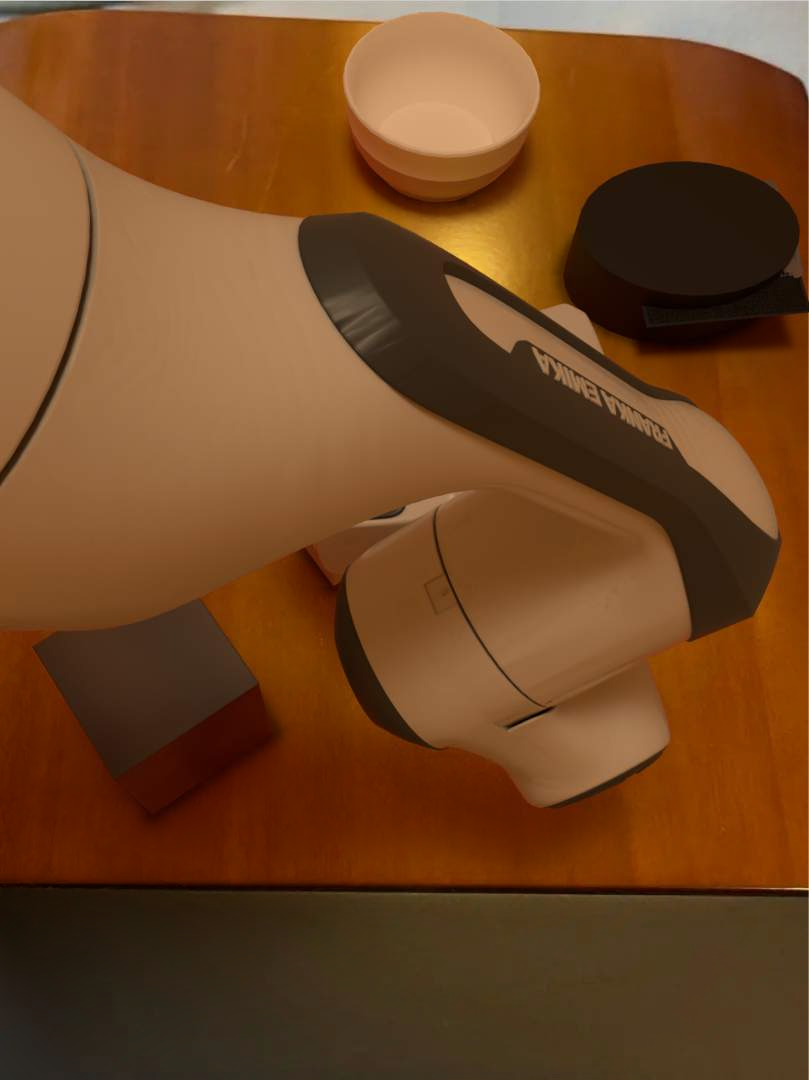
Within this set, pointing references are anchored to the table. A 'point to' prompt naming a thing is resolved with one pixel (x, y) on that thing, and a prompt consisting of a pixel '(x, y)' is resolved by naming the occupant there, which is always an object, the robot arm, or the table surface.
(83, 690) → the pedestal
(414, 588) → the robot arm
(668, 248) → the black flat-topped cap
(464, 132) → the bowl
